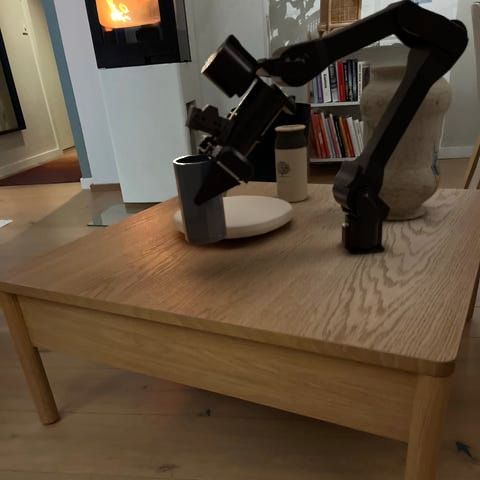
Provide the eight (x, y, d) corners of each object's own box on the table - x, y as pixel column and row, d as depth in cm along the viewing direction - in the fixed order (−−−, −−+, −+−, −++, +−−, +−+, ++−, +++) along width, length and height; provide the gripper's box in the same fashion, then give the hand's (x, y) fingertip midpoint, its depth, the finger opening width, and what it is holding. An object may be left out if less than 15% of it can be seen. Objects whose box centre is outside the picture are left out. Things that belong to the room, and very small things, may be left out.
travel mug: (294, 193, 131) (292, 124, 123) (313, 198, 125) (312, 125, 117) (271, 199, 128) (267, 128, 119) (290, 204, 122) (287, 129, 113)
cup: (226, 227, 85) (218, 152, 79) (227, 241, 79) (218, 161, 72) (187, 231, 85) (175, 156, 79) (184, 246, 79) (171, 166, 72)
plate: (193, 193, 120) (298, 190, 115) (195, 219, 123) (298, 217, 117) (152, 212, 95) (284, 209, 89) (156, 244, 98) (285, 243, 92)
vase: (424, 200, 115) (437, 59, 101) (451, 220, 99) (472, 57, 85) (349, 205, 116) (352, 67, 102) (364, 227, 100) (370, 67, 86)
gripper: (202, 83, 80) (148, 159, 83) (224, 83, 63) (156, 178, 67) (251, 127, 85) (198, 198, 88) (283, 138, 68) (217, 224, 72)
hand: (192, 198), depth 78 cm, fingers closed on cup, 7 cm apart
